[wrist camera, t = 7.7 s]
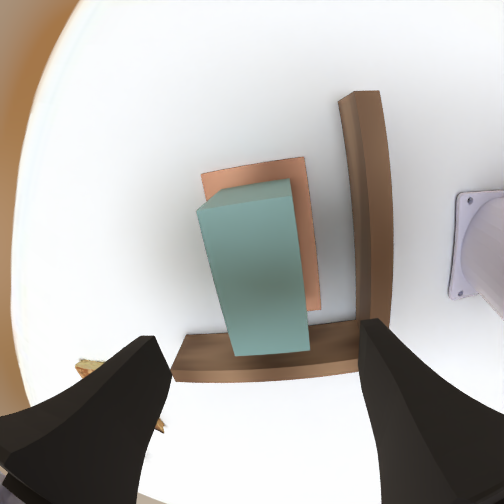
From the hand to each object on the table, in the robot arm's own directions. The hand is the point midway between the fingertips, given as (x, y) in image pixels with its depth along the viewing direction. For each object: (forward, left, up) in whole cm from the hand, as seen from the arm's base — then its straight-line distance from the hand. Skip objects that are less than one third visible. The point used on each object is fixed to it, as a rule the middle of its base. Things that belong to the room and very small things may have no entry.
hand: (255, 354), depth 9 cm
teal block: (0, 0, -9) cm, 9 cm away
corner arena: (0, 0, -9) cm, 9 cm away
